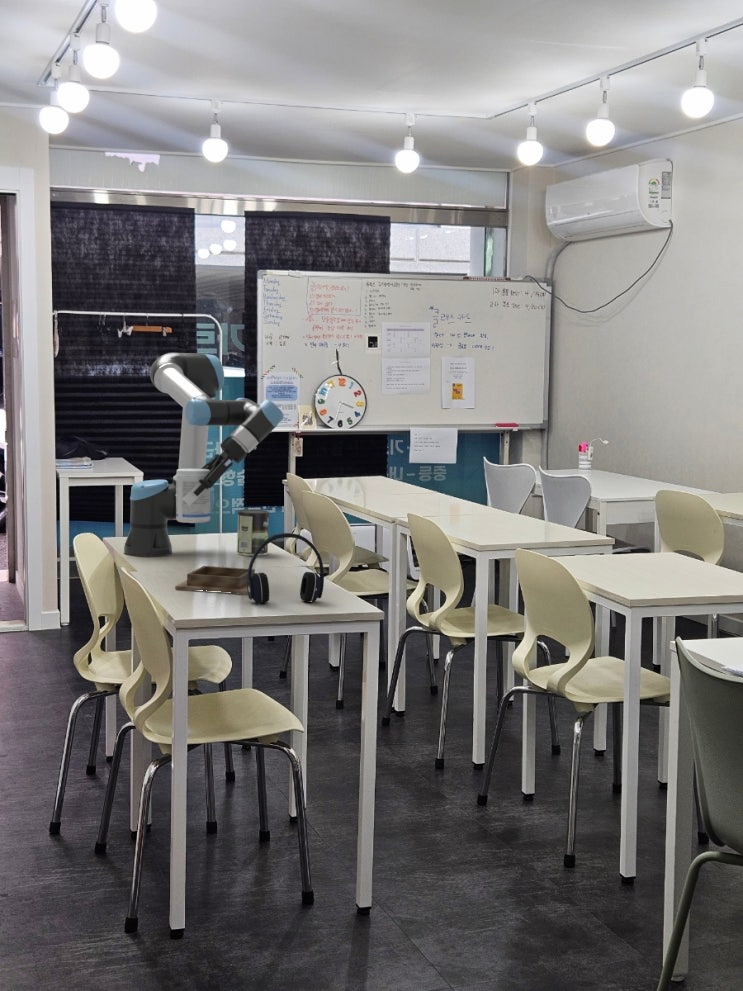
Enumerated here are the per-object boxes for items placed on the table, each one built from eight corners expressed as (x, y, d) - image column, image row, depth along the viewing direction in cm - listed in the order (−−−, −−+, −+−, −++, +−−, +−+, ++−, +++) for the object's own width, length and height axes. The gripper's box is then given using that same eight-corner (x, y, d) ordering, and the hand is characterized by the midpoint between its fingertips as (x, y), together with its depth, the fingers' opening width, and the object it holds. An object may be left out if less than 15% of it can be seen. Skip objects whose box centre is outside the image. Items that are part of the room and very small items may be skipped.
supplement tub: (217, 521, 333) (218, 469, 332) (193, 524, 326) (194, 471, 324) (192, 518, 339) (193, 467, 337) (168, 521, 331) (169, 469, 330)
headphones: (318, 599, 315) (320, 531, 313) (325, 604, 308) (327, 535, 307) (244, 600, 309) (246, 531, 307) (250, 606, 302) (252, 535, 300)
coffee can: (269, 552, 392) (270, 510, 390) (265, 556, 382) (267, 513, 380) (238, 550, 392) (239, 508, 391) (234, 555, 382) (235, 512, 380)
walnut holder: (175, 589, 319) (175, 575, 319) (197, 577, 339) (198, 563, 339) (246, 594, 316) (247, 580, 316) (265, 582, 336) (265, 568, 336)
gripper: (257, 457, 325) (199, 514, 321) (238, 451, 346) (183, 505, 342) (239, 437, 323) (180, 495, 319) (220, 433, 344) (165, 487, 340)
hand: (182, 500), depth 331 cm, fingers closed on supplement tub, 9 cm apart
